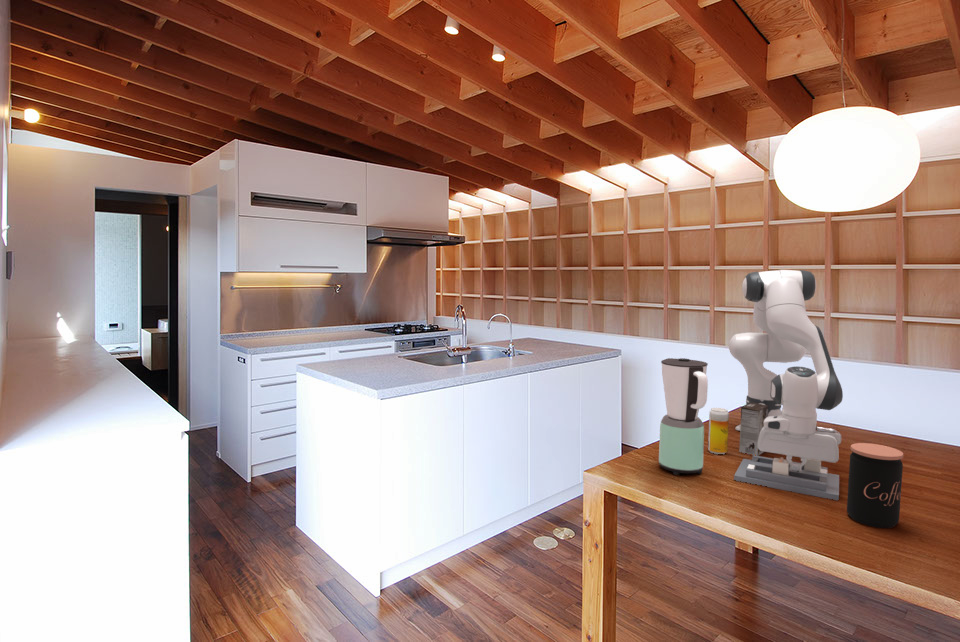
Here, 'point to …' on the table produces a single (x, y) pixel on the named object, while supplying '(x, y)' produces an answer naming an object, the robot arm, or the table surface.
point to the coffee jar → (874, 485)
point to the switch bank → (788, 478)
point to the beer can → (718, 430)
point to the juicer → (683, 415)
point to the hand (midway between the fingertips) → (795, 471)
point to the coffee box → (751, 427)
